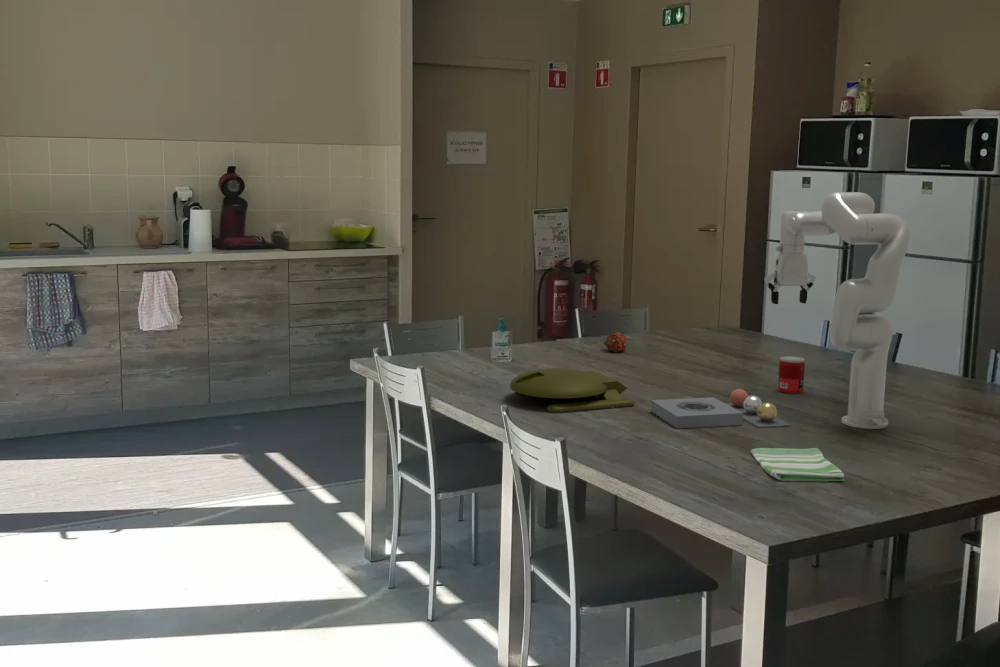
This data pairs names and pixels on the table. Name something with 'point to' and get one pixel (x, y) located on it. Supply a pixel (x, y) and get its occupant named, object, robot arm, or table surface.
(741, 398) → the rubber ball
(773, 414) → the brass ball
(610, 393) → the spaceship
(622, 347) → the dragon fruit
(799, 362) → the canned food
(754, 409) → the steel ball
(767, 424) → the mat
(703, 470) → the table surface
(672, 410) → the board
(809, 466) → the dish towel
